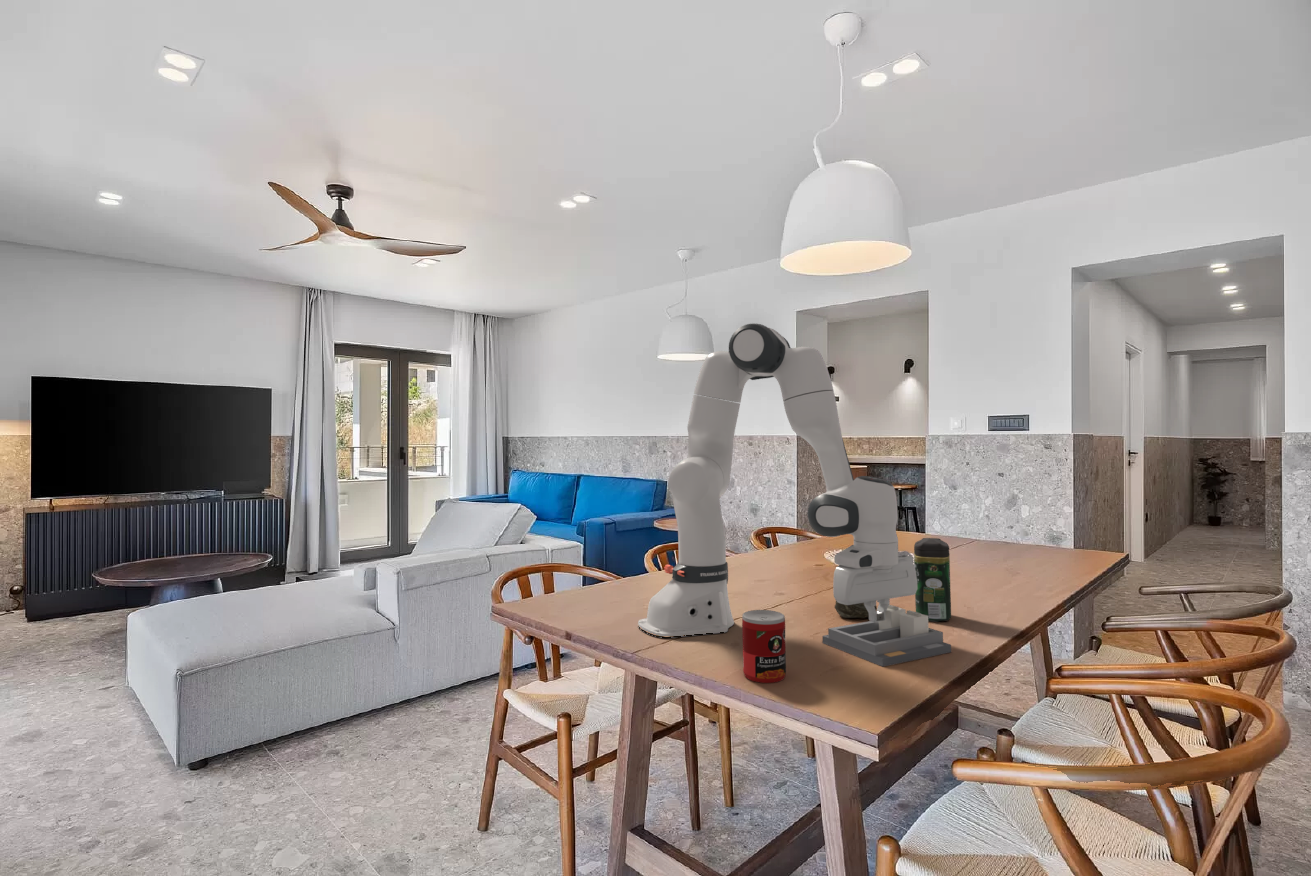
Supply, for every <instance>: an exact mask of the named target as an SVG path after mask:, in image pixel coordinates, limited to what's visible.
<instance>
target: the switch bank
mask: <svg viewBox="0 0 1311 876" xmlns="http://www.w3.org/2000/svg"><path fill="white" fill-rule="evenodd" d="M827 629H828V631H827V632H828V634H825V635H822V640H821V641H822V644H824V645H827V646H829V647H832V648H834V649H835V650H836V649H837V650H839V651H842V652H845V653H847V654H849V655H853V656H855V657H857V658H859V659H862V660H865V661H867V662H870V663H872V664H874V665H878V666H880V667H887V666H892V665H897V664H902V663H907V662H912V661H917V660H922V659H926V658H930V657H934V656H939V655H943V654H944V655H945V654H949V653H952V644H951V643H948V642H945V641H944V632H943V631H940V630H937V629H934V628H930V627H928V629H929V632H928V633H923V634H918V635H913V636H907V637H902V638H900V626H899V627H894V628H888V629H883V630H879V621H878V622H871V621H870V620H869V621H863V622H858V623H857V622H856V623H852V624H846V625H840V626H836V627H835V626H834V627H829V628H827Z"/></svg>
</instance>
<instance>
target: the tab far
mask: <svg viewBox="0 0 1311 876" xmlns="http://www.w3.org/2000/svg"><path fill="white" fill-rule="evenodd" d="M905 613H907V610H906V609H905V608H901V607H899V606H896V605H893V604H889V606H888V608H887V611H886V612H885V620H884V621H879V630H883V629H888V628H894V627H899V626H900V614H905Z"/></svg>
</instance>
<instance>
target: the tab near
mask: <svg viewBox="0 0 1311 876" xmlns="http://www.w3.org/2000/svg"><path fill="white" fill-rule="evenodd" d="M928 628H929V621H928V616H927V615H923V614H921V613H917V612H916V611H914V610H906V613H905V614H900V638H902V637H907V636H913V635H918V634H923V633H928V632H929V629H928Z"/></svg>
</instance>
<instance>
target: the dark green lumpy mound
mask: <svg viewBox="0 0 1311 876" xmlns="http://www.w3.org/2000/svg"><path fill="white" fill-rule="evenodd" d="M874 607H875V609H876V611H877V608H878V606H877V605H876V606H874ZM834 609H835V610H836V612H837V614H838V615H839V616H840V617H842V618H845V619H856V618H860V619H865V618H867V619H869V612H868V611H867V609H866V607H865V605H864V603H859V604H852V605H844V604H841V603H838V602H837V601H836V600H835V605H834Z"/></svg>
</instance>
